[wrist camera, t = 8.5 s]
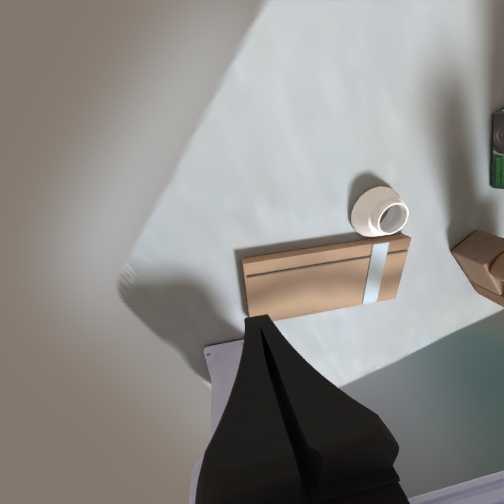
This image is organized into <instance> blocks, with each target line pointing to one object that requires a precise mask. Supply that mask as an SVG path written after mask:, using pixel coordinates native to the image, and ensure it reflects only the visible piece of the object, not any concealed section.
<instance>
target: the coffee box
mask: <svg viewBox="0 0 504 504" xmlns="http://www.w3.org/2000/svg"><path fill="white" fill-rule="evenodd" d="M492 167H493V168H492V174H491V176H492V188H498V189H504V107H503V108H502V109H500V110H498V111H497V112H495V113H493V165H492Z"/></svg>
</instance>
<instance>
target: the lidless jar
mask: <svg viewBox="0 0 504 504" xmlns="http://www.w3.org/2000/svg"><path fill="white" fill-rule="evenodd" d="M388 208H389V210H388V212H387V215H386V217H385V218H384V219H383V221H382V222H381V223H380V218H381V216H382V214H383V213H384V212H385V210H386V209H388ZM408 215H409V211H408V208H407V206H406V205H405V204H404V202H403V200H402V199H401V197H400V196H399V194H398V193H397V192H396V191H394V190H393V189H392V188H389V187H382V186H379V187H375V188H372V189H369V190H368V191H367V192H365V193H364V194H363V195H361V196H360V198H359V199H358V201H357V202H356V203H355V205H354V208H353V211H352V214H351V223H352V226H353V227H354V229H355V231H356V232H358V233H360V234H361V235H363V236H370V237H374V236H383V235H390V234H394V233H396V232H397V231H399V230H400V229H401V228H402V227H403V226H404V225H405V223H406V221H407V219H408Z"/></svg>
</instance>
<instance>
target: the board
mask: <svg viewBox="0 0 504 504" xmlns="http://www.w3.org/2000/svg"><path fill="white" fill-rule="evenodd" d="M410 241H411V237H409V236H406V235H404V234H397V235H391V236H384V237H378V238H371V239H365V240H358V241H352V242H345V243H339V244H333V245H326V246H320V247H313V248H307V249H300V250H294V251H287V252H281V253H274V254H268V255H261V256H255V257H248V258H242V265H243V273H244V281H245V289H246V297H247V305H248V313H249V317H253V316H259V315H265V314H268V315H269V316H270V318H271V320H272V321H277V320H282V319H287V318H293V317H298V316H303V315H309V314H314V313H319V312H325V311H330V310H335V309H341V308H346V307H351V306H356V305H362V304H367V303H372V302H378V301H383V300H388V299H394V298H396V294H397V291H398V287H399V283H400V279H401V275H402V271H403V268H404V264H405V260H406V256H407V252H408V248H409V244H410Z"/></svg>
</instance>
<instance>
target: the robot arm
mask: <svg viewBox="0 0 504 504" xmlns="http://www.w3.org/2000/svg"><path fill="white" fill-rule="evenodd" d="M244 321H245V335H244V339H243V340H238V341H233V342H228V343H222V344H217V345H212V346H207V347H205V348H204V356H205V359H206V363H207V367H208V370H209V374H210V377H211V435H210V437H211V438H210V440H209V441H208V447H207V449H206V451H205V454H204V456H201V457H200V458H199V460H198V462H197V463H196V465H195V467H194V469H193V472H192V479H191V487H190V499H189V504H504V471H501V472H498V473H495V474H491V475H487V476H484V477H481V478H477V479H474V480H470V481H467V482H463V483H460V484H457V485H453V486H450V487H447V488H443V489H440V490H436V491H433V492H429V493H426V494H423V495H419V496H416V497H412V498H409V499H407V497H406V495H405V493H404V492H403V490H402V488H401V486H400V484H399V483H398V482H399V481H400V479H399V476H398V474H397V473H396V471H395V469H394V467H393V463H394V461H395V459H396V457H397V455H398V451H399V446H398V443H397V442H396V440H395V438H394V437H393V435H392V434H391V432H390V431H389V429H388V428H387V427H386V425H385V424H384V423H383V421H382V420H381V419H380V417H379V416H378V415H377V414H376V413H374V412H372V411H371V410H369V409H368V408H366V407H365V406H363V405H362V404H360V403H358V402H357V401H356V400H354V399H352V398H351V397H350V396H348V395H347V394H346V393H344V392H343V391H341V390H340V389H339V388H338V387H336V386H335V385H334V384H332V383H331V382H330V381H329V380H327V379H326V378H325V377H324V376H322V375H321V374H320V373H319V372H318V371H317V370H315V369H314V368H313V367H312V366H311V365H310V364H309V363H308V362H307V361H306V360H305V359H304V358H303V357H302V356H301V355H300V354H299V353H298V352H297V351H296V350H295V349H294V348H293V347H292V346H291V344H290V343H289V342H288V341H287V340H286V339H285V337H284V336H283V335H282V334H281V332H280V331H279V330H278V328H277V327H276V326H275V324H274V323H273V321H272V320H271V318H270V316H269V315H268V314H265V315H259V316H253V317H247V318H245V319H244Z"/></svg>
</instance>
